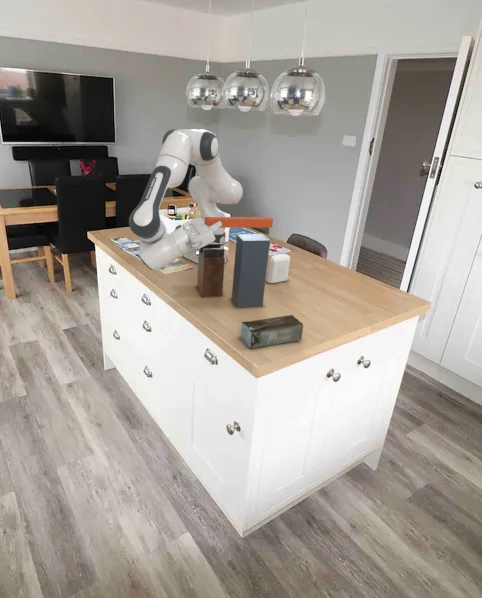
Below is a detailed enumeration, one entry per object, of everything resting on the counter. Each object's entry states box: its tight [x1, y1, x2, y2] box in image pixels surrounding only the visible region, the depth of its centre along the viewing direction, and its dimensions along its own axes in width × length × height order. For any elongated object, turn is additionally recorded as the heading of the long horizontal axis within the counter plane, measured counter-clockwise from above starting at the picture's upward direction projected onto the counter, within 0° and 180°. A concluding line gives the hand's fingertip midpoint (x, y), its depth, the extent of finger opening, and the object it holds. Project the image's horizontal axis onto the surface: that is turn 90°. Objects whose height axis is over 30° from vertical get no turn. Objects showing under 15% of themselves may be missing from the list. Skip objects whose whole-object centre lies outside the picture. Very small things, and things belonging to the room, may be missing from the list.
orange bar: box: [205, 216, 274, 229], centre depth 146 cm, size 24×3×3 cm, turn 106°
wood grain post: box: [196, 243, 226, 298], centre depth 164 cm, size 8×10×19 cm
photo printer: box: [265, 253, 291, 284], centre depth 181 cm, size 10×4×12 cm, turn 123°
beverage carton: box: [240, 314, 304, 349], centre depth 135 cm, size 8×19×7 cm, turn 112°
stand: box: [231, 233, 271, 309], centre depth 155 cm, size 10×8×26 cm
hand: (219, 220), depth 144 cm, fingers closed on orange bar, 3 cm apart
